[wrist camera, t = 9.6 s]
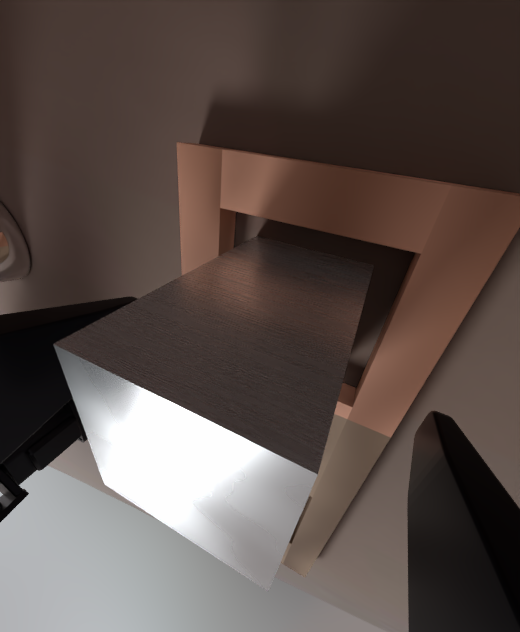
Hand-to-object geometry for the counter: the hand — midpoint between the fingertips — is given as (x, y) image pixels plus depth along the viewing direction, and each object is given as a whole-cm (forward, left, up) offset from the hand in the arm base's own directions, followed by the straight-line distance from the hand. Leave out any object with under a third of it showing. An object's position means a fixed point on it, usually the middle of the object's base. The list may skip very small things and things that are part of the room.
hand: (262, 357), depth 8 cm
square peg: (0, 0, -4) cm, 4 cm away
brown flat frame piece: (0, -8, -4) cm, 9 cm away
